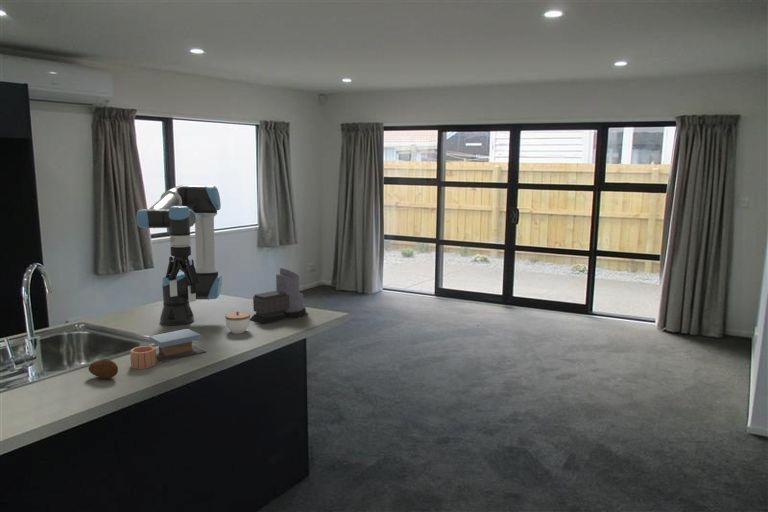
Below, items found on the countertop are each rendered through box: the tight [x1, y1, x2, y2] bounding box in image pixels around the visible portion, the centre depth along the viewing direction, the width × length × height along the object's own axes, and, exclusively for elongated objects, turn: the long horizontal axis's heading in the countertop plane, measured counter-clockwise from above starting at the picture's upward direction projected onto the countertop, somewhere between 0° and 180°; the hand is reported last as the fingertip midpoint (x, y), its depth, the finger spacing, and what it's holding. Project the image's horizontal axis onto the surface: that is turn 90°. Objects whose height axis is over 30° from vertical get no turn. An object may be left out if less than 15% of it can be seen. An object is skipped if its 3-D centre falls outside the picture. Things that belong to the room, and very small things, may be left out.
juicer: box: [250, 267, 309, 326], centre depth 280 cm, size 30×16×24 cm, turn 138°
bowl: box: [129, 345, 157, 370], centre depth 212 cm, size 8×8×6 cm
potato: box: [88, 358, 119, 380], centre depth 199 cm, size 7×12×7 cm, turn 77°
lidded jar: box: [224, 310, 251, 334], centre depth 255 cm, size 11×11×9 cm
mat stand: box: [156, 341, 207, 363], centre depth 227 cm, size 16×18×5 cm
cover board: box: [148, 328, 201, 348], centre depth 226 cm, size 11×16×2 cm
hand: (182, 298), depth 226 cm, fingers open, 13 cm apart
